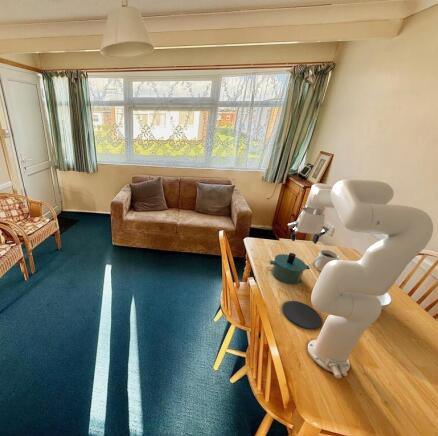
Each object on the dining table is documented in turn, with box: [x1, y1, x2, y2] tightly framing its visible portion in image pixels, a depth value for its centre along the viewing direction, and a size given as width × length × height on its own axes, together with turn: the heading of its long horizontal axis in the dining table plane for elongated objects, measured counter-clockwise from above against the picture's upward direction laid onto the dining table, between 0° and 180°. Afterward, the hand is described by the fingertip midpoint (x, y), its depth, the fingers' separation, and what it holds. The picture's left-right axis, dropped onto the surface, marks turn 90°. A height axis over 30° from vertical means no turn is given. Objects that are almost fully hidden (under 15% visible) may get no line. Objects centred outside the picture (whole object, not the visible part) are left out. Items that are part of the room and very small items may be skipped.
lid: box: [273, 252, 307, 272], centre depth 122 cm, size 15×15×6 cm
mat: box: [281, 300, 323, 330], centre depth 102 cm, size 15×15×1 cm
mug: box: [312, 249, 340, 273], centre depth 130 cm, size 11×10×10 cm
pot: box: [269, 259, 311, 285], centre depth 125 cm, size 14×19×8 cm
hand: (303, 241), depth 114 cm, fingers open, 9 cm apart
